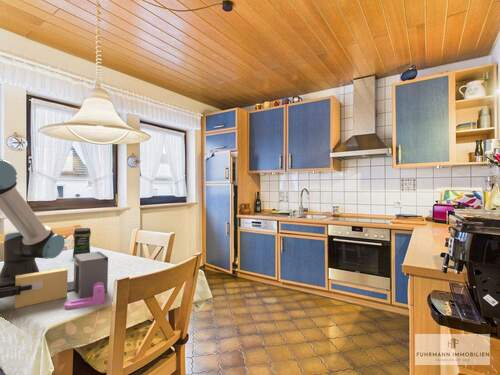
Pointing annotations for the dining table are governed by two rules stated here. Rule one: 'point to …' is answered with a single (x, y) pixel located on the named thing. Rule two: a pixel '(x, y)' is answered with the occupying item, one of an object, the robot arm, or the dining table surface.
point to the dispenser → (90, 272)
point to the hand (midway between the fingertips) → (41, 282)
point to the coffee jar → (82, 241)
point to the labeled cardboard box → (51, 287)
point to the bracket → (96, 299)
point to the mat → (70, 286)
